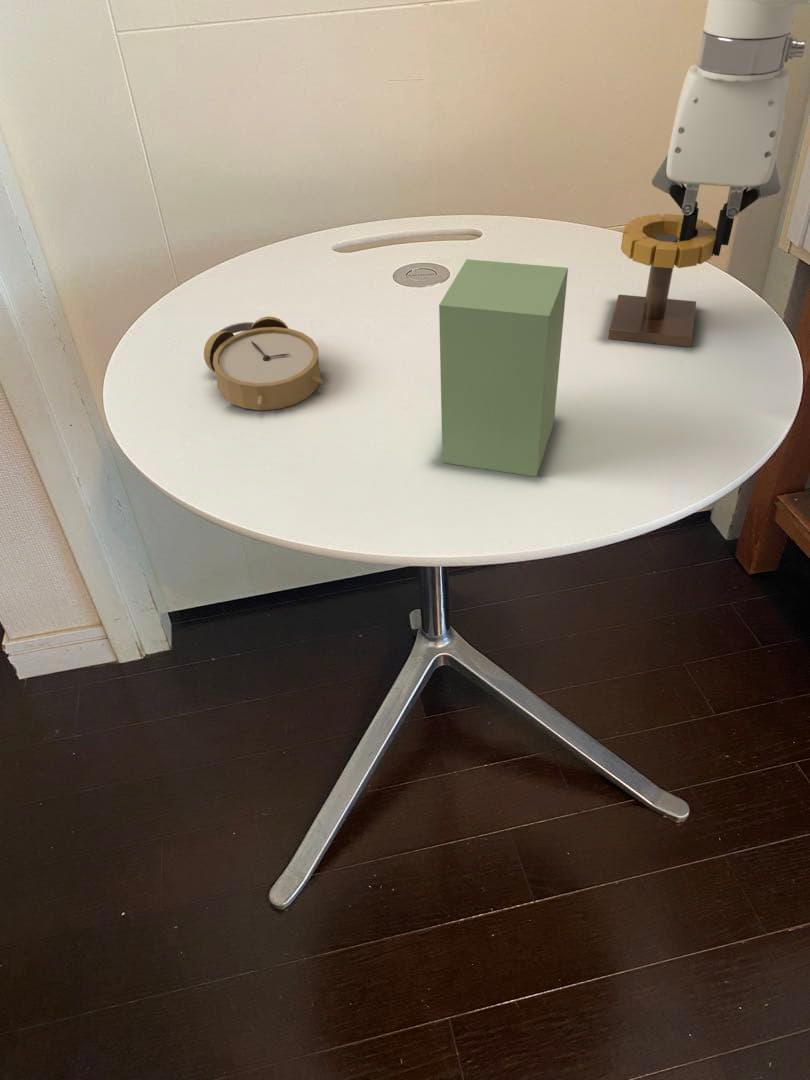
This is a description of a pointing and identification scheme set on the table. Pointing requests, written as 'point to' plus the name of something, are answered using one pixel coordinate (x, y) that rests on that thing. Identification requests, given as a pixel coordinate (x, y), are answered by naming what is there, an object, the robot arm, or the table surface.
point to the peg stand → (654, 312)
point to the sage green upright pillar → (500, 364)
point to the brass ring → (667, 254)
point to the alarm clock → (263, 364)
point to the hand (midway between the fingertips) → (701, 248)
